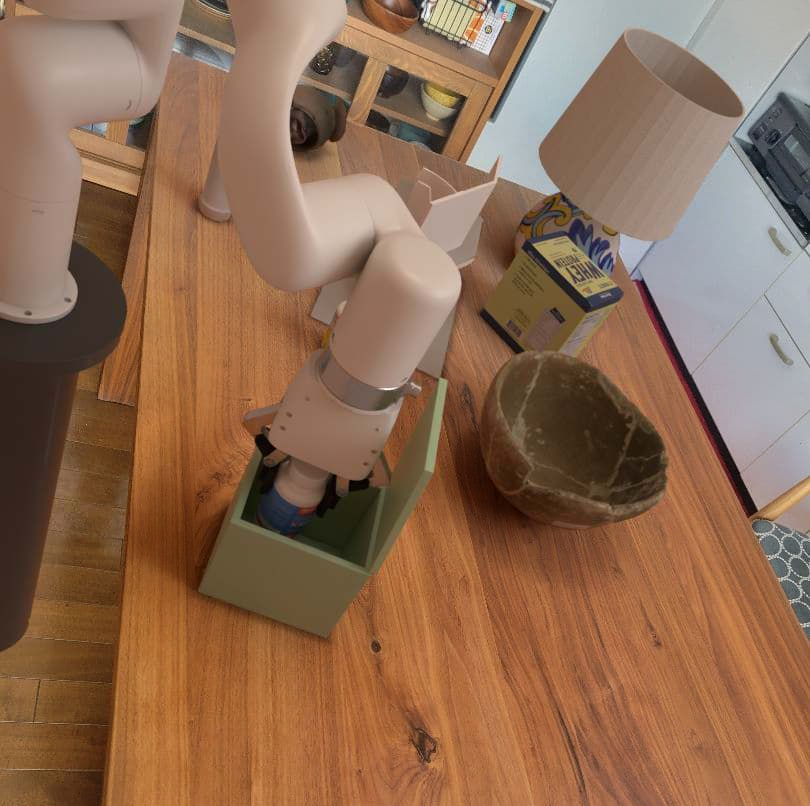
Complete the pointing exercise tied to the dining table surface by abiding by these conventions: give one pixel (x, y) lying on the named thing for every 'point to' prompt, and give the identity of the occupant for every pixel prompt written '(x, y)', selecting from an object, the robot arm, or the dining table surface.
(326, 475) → the pill bottle
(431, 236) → the architectural model
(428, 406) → the lid
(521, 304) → the protein box
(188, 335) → the dining table surface
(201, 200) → the bottle
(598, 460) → the bowl
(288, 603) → the box
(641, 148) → the table lamp
